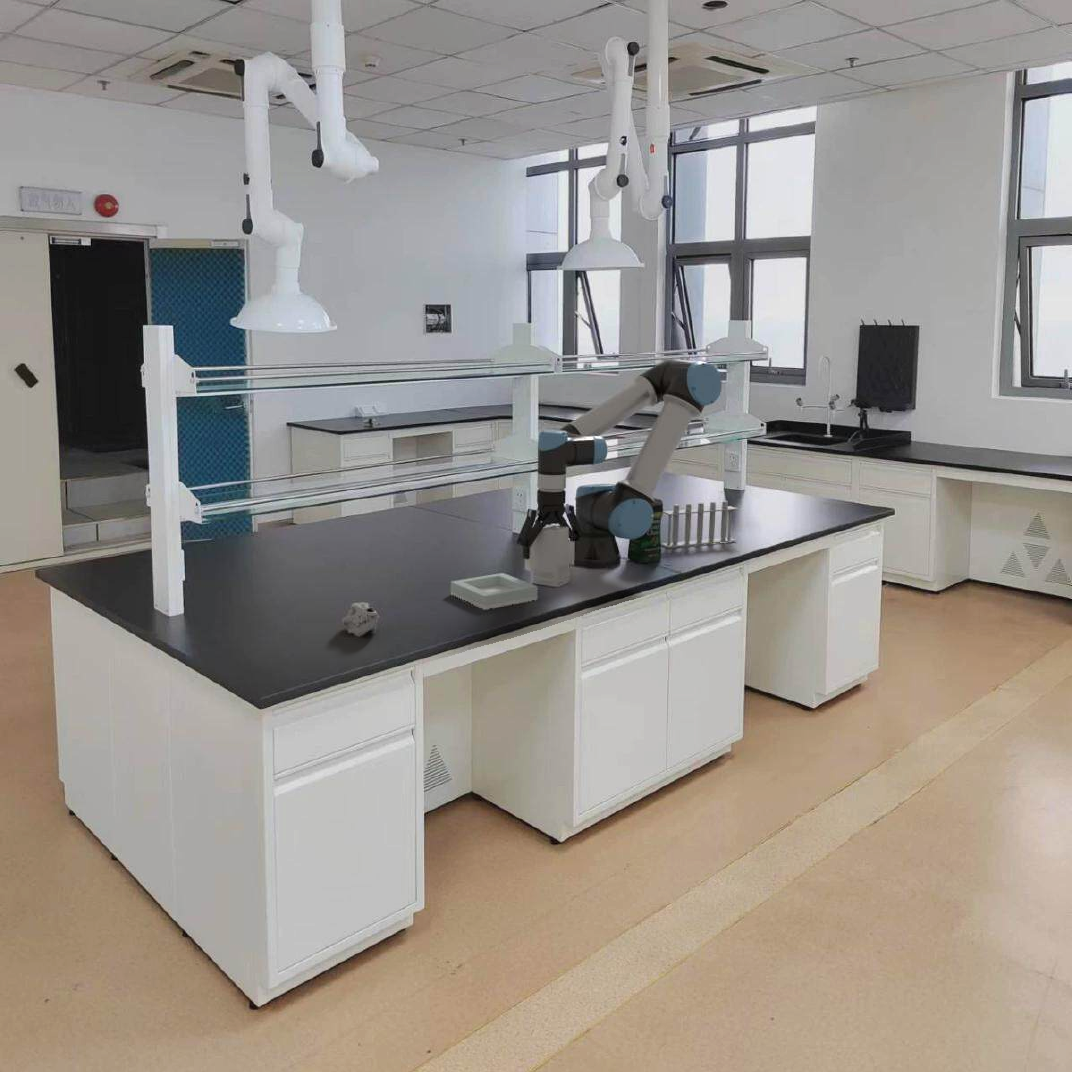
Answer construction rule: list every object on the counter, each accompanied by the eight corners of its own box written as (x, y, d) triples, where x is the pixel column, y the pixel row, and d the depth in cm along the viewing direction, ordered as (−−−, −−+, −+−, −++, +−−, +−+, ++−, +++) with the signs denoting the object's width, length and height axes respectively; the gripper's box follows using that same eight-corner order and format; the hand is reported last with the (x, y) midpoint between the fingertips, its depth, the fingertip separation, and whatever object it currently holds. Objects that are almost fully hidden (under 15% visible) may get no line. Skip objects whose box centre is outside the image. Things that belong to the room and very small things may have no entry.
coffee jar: (639, 565, 297) (642, 502, 293) (623, 559, 304) (625, 497, 300) (666, 561, 302) (668, 499, 298) (649, 555, 309) (651, 494, 305)
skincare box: (569, 583, 278) (570, 526, 275) (556, 588, 273) (557, 531, 269) (544, 578, 283) (544, 522, 279) (530, 583, 277) (530, 526, 274)
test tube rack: (728, 539, 332) (730, 499, 329) (736, 542, 328) (738, 501, 325) (661, 545, 322) (662, 504, 319) (668, 549, 318) (669, 507, 315)
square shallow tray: (502, 585, 275) (502, 572, 274) (537, 599, 262) (537, 586, 261) (450, 594, 266) (450, 581, 265) (484, 609, 253) (484, 596, 252)
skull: (366, 611, 242) (382, 586, 233) (375, 645, 238) (391, 621, 229) (334, 614, 238) (349, 589, 229) (342, 648, 234) (358, 624, 225)
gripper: (580, 483, 282) (578, 558, 287) (504, 491, 268) (503, 570, 273) (597, 487, 276) (594, 564, 281) (520, 495, 262) (519, 576, 267)
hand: (549, 567), depth 277 cm, fingers open, 13 cm apart
